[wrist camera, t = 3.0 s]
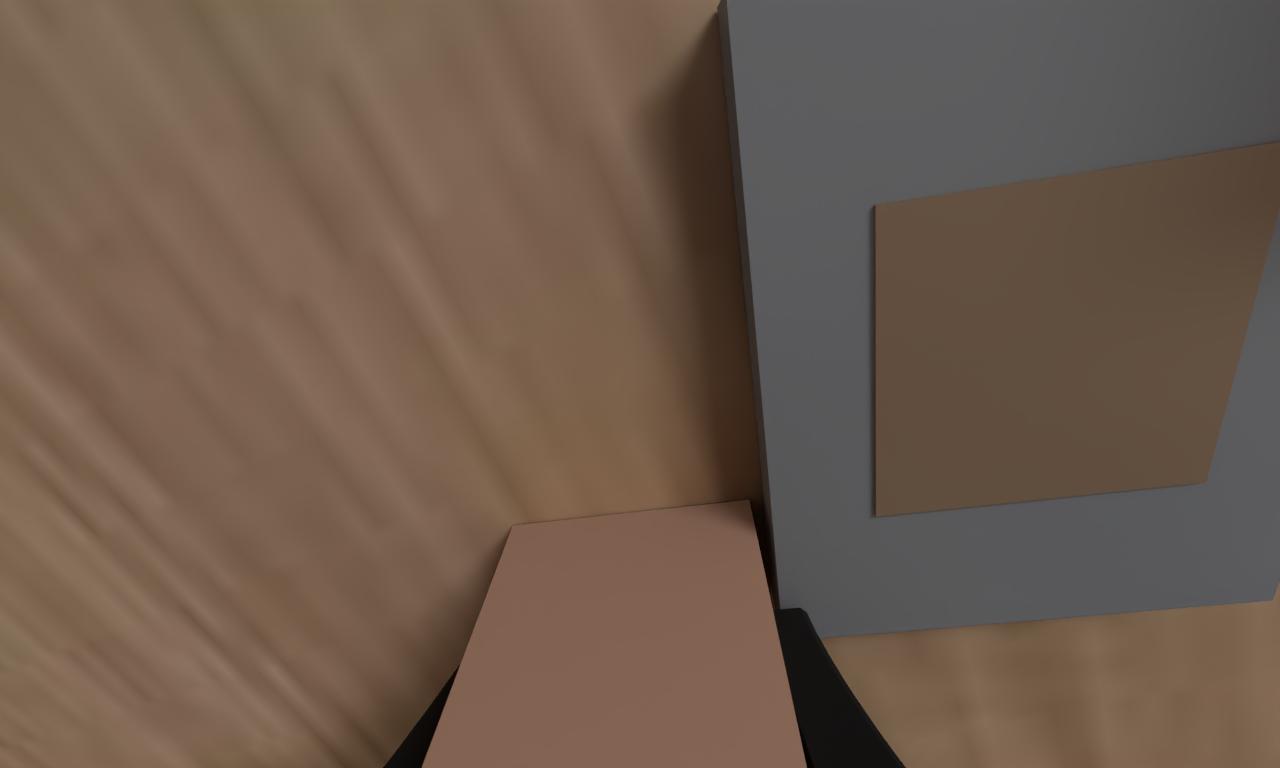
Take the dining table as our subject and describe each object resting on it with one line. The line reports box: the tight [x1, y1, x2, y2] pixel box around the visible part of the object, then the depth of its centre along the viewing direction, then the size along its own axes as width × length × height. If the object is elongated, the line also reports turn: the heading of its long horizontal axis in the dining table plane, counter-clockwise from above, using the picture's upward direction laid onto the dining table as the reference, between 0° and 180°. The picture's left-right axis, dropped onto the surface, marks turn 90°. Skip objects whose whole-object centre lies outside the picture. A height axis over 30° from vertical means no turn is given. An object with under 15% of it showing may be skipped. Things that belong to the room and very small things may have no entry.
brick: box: [422, 500, 807, 768], centre depth 10 cm, size 4×4×5 cm
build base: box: [717, 0, 1280, 638], centre depth 9 cm, size 10×8×1 cm
